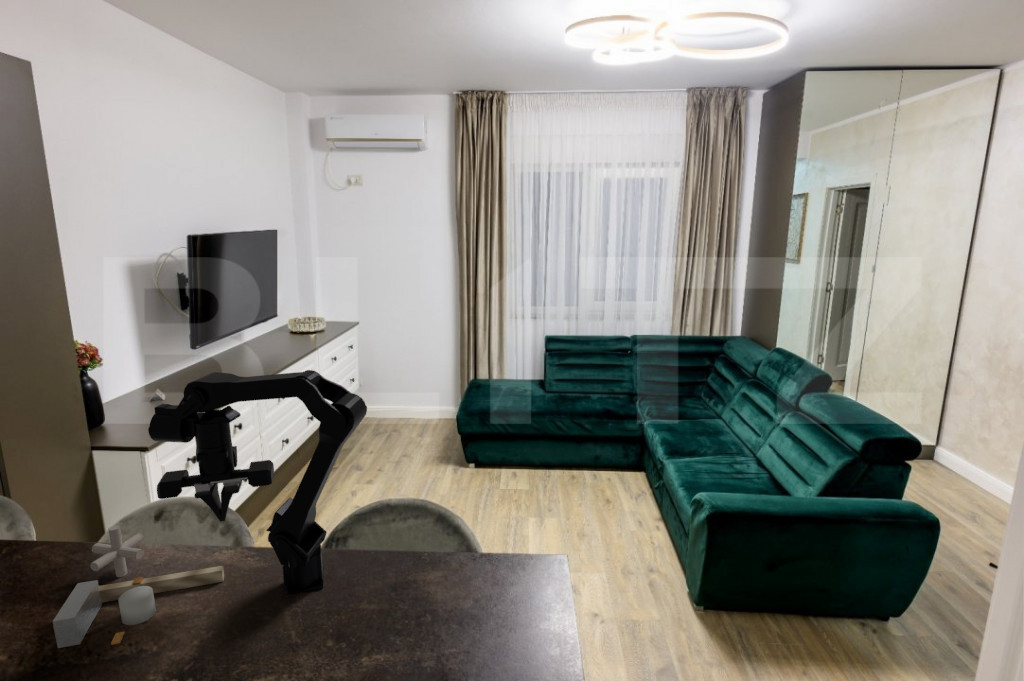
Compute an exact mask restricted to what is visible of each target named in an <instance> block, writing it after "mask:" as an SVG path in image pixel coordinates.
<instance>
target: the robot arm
mask: <svg viewBox="0 0 1024 681" xmlns="http://www.w3.org/2000/svg"><path fill="white" fill-rule="evenodd" d="M287 398H289V399H290V398H297V399H299V400H300V402H302V403H303V404H304V406H305V407H306V409H307V410H308V412H309V413H310V415H311V416H312V417H313V418H314V419H316V420H317V421H319V425H318V443H317V445H316V448H315V449H314V452H313V454H312V456H311V459H310V461H309V463H308V465H307V467H306V470H305V472H304V474H303V477H302V478H301V481H300V483H299V486H298V487H297V490H296V491H295V494H294V496H293V498H292V497H288V499H286V500H285V502H284V503H283V504H282V505H281V506H279V508H278V509H277V510H276V511H275V512H274V514H273V517H272V521H271V523H270V526H269V527H268V528H267V529H266V532H268V536H267V541H268V543H269V544H270V547H272V549H273V551H274V553H275V555H276V557H277V560H278V562H279V564H280V565H281V566H282V575H283V576H282V577H283V585H284V586H285V587H286V594H287V595H292V594H297V593H303V592H308V591H314V590H320V589H323V588H324V585H325V582H324V578H325V577H324V576H325V575H324V573H325V572H324V570H325V567H324V566H323V556H322V543H324V541H325V539H326V536H327V531H326V530H325V529H324V528H323V527H322V526H321V525H320V524H319V523H317V522H316V521H315V520H316V516H317V502H318V500H319V498H320V497H321V494H322V491H323V490H324V487H325V485H326V483H327V482H328V479H329V477H330V475H331V472H332V471H333V468H334V466H335V464H336V463H337V460H338V458H339V455H340V453H341V451H342V449H343V447H344V445H345V443H346V442H347V441H348V440H349V438H350V437H351V435H352V434H353V433H354V432H355V430H356V429H357V428H358V426H359V425H360V423H361V422H362V421H363V420H364V418H365V417H366V415H367V411H368V406H367V405H366V403H365V401H364V399H363V398H362V397H361V396H360V395H358V394H356V393H353V392H350V390H348V389H347V388H345V387H344V386H342V385H340V384H338V383H336V382H334V381H331V380H329V379H327V378H325V377H324V376H323V375H321V373H319V372H317V371H315V370H312V369H311V370H310V369H308V370H305V371H300V372H298V371H297V372H287V373H277V374H266V375H265V374H263V375H253V376H239V375H237V374H233V373H229V372H228V373H227V372H218V371H217V372H215V371H214V372H210V373H208V374H206V375H203V376H202V377H199V378H196V379H195V380H192V381H191V382H188V383H187V384H186V386H185V387H184V390H183V397H182V398H181V400H180V402H179V403H178V404H176V405H175V404H169V403H161V404H159V405H157V406H155V407H154V408H153V409H154V414H153V415H152V418H151V419H150V423H149V426H148V429H147V430H148V436H149V437H150V439H152V440H153V441H154V442H161V443H162V442H164V443H166V442H167V443H169V442H170V443H185V444H186V443H190V442H192V440H193V439H194V438H195V446H196V447H195V461H196V463H198V470H199V474H194V475H193V474H192V475H189V471H188V469H182V470H181V469H179V470H172V471H171V470H170V471H166V472H165V473H164V474H163V475H162V477H161V478H160V480H159V481H158V483H157V485H156V494H157V499H159V500H162V499H171V498H177V497H179V496H180V494H181V493H182V492H183V488H189V487H190V488H191V487H194V489H195V493H194V498H195V499H201V501H203V502H204V503H205V504H206V505H207V507H208V508H209V509H210V510H211V511H212V512H213V514H214V515H215V517H216V518H217V519H218V521H219V522H225V521H226V519H227V516H228V515H227V514H228V511H229V507H230V506H229V505H230V503H231V500H232V497H233V495H234V494H237V493H239V492H240V490H241V486H242V483H243V481H246V480H247V484H248V485H250V486H251V487H252V488H258V487H264V486H270V485H272V484H273V480H274V474H275V467H274V466H275V465H274V462H273V461H272V460H270V459H266V460H265V459H264V460H259V461H257V460H256V461H250V463H249V467H248V468H246V469H244V468H243V469H241V468H239V469H238V468H237V469H235V468H236V467H237V466H238V449H237V448H238V446H237V445H233V442H232V433H231V425H230V423H232V422H233V421H236V419H238V418H240V417H241V415H242V414H241V413H240V412H239V411H238V410H236V409H234V408H233V407H232V406H231V405H232V404H235V403H239V402H250V401H251V402H252V401H261V400H262V401H264V400H265V401H266V400H277V399H278V400H279V399H287ZM327 400H328V401H329V402H331V403H329V402H328V401H327ZM223 407H224V408H223ZM221 408H222V409H221ZM219 484H222V489H221V492H220V491H219ZM219 492H220V493H219Z"/></svg>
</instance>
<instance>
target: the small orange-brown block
mask: <svg viewBox="0 0 1024 681" xmlns="http://www.w3.org/2000/svg"><path fill="white" fill-rule="evenodd" d="M124 635H125V631H119V632H115V634H114V636H113V638H112V641H111V643H110V645H111V646H113V645H118V644H121V642H122V640H123V637H124Z"/></svg>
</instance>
